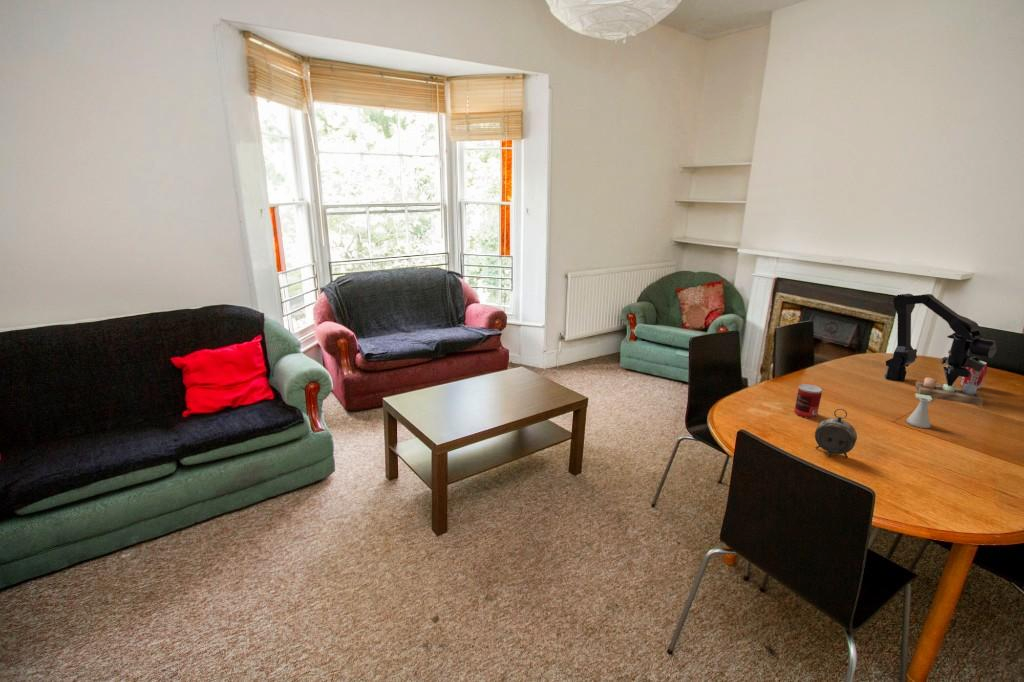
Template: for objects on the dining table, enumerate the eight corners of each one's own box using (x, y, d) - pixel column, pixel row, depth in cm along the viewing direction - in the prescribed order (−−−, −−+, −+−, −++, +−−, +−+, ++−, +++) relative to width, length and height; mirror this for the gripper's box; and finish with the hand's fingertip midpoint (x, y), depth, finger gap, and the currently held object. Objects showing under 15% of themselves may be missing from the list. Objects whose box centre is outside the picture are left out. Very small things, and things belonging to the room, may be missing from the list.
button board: (919, 394, 207) (920, 389, 206) (914, 386, 217) (916, 380, 216) (981, 405, 197) (983, 399, 197) (974, 395, 207) (975, 390, 206)
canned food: (815, 412, 189) (820, 385, 186) (818, 420, 182) (823, 393, 179) (793, 408, 192) (798, 382, 189) (794, 416, 185) (800, 389, 182)
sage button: (941, 395, 206) (944, 386, 205) (939, 392, 210) (942, 383, 208) (954, 397, 204) (956, 388, 203) (951, 394, 208) (954, 385, 206)
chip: (916, 398, 203) (917, 397, 203) (915, 394, 208) (915, 393, 207) (932, 401, 201) (932, 399, 201) (930, 397, 205) (930, 395, 205)
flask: (925, 421, 182) (932, 397, 179) (934, 430, 176) (941, 404, 173) (902, 418, 185) (909, 394, 182) (910, 426, 178) (917, 401, 175)
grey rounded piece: (962, 395, 203) (965, 385, 202) (960, 392, 206) (963, 382, 205) (975, 397, 201) (978, 387, 200) (973, 394, 204) (976, 384, 203)
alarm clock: (852, 457, 157) (863, 411, 152) (849, 463, 153) (860, 416, 148) (813, 446, 163) (822, 401, 159) (810, 452, 160) (819, 406, 155)
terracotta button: (923, 388, 209) (925, 379, 208) (921, 386, 212) (924, 376, 211) (935, 390, 207) (937, 381, 206) (933, 387, 210) (936, 378, 209)
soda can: (985, 390, 213) (993, 364, 210) (969, 390, 213) (977, 364, 210) (971, 384, 220) (978, 359, 216) (955, 384, 220) (962, 359, 216)
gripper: (992, 360, 190) (980, 397, 194) (979, 348, 205) (969, 382, 210) (954, 355, 195) (944, 391, 200) (945, 343, 211) (935, 377, 215)
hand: (949, 385), depth 206 cm, fingers closed, pressing on sage button
